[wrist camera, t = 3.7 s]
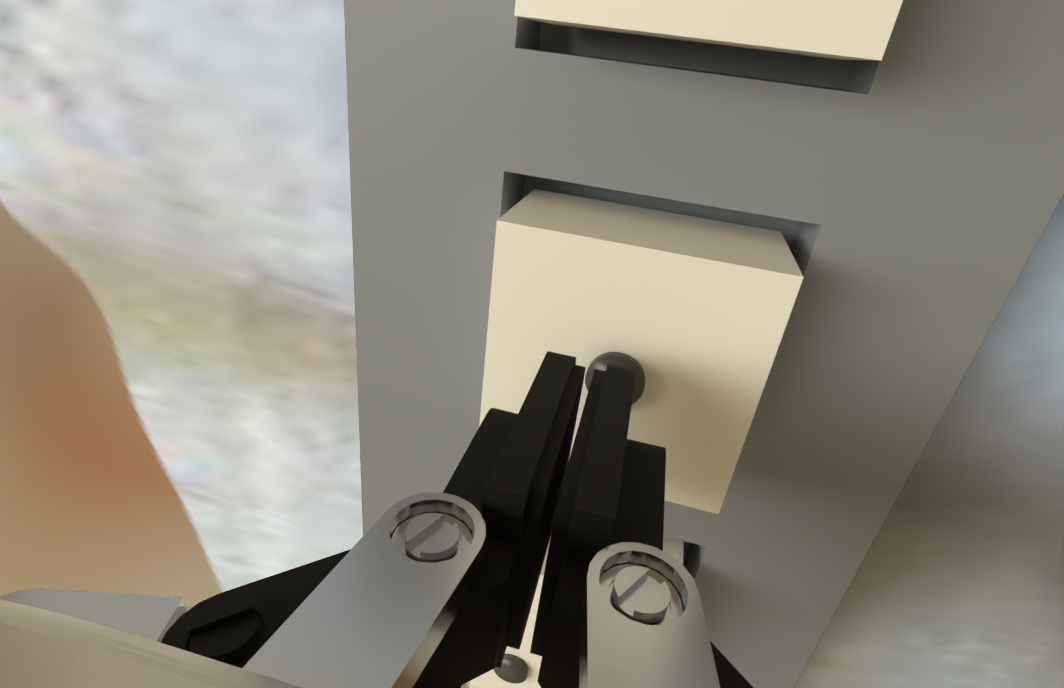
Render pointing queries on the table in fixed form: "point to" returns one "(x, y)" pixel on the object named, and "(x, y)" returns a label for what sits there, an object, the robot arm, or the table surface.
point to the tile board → (723, 195)
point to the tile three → (737, 22)
